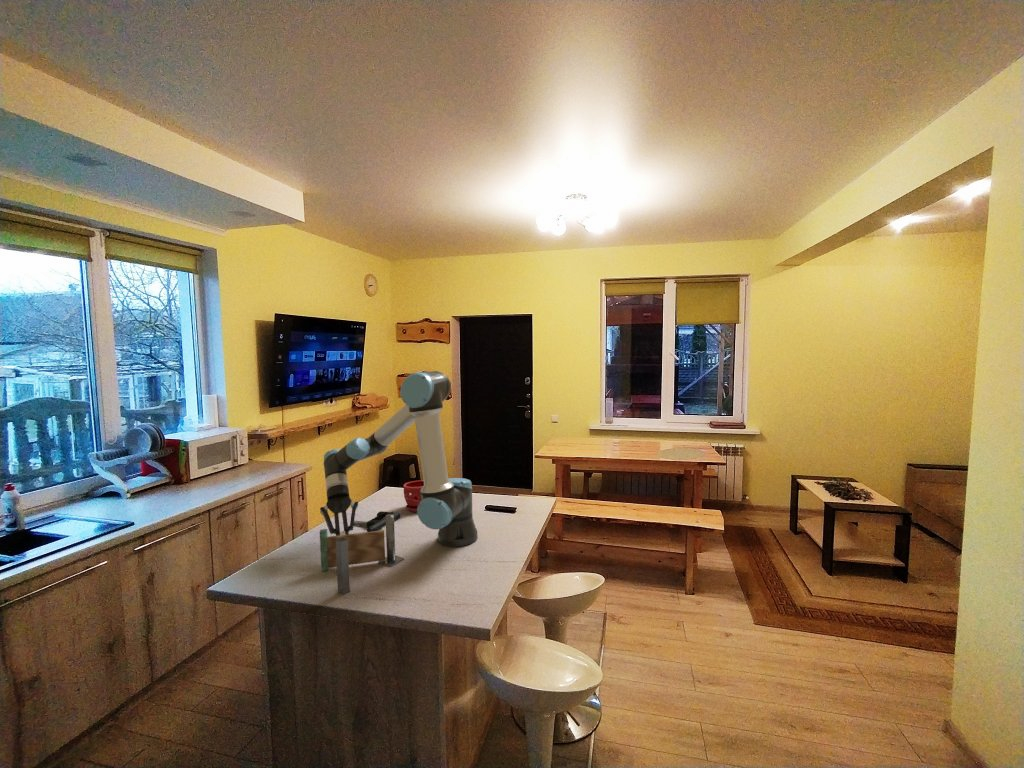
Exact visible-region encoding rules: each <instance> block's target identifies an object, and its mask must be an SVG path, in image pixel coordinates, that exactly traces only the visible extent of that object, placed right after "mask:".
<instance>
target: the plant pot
mask: <svg viewBox="0 0 1024 768" xmlns="http://www.w3.org/2000/svg"><path fill="white" fill-rule="evenodd" d="M423 486H424V479H421V480H414V481H412V480H411V481H408V482H405V483H404V484H403V496H404V500H405V503H406V506H405V508H406V510H408V511H409V512H412V513H417V508H418V505H419V503H420V502H421V500H422V498H421V489H422V487H423Z"/></svg>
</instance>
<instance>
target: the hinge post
mask: <svg viewBox="0 0 1024 768" xmlns="http://www.w3.org/2000/svg"><path fill="white" fill-rule="evenodd" d="M385 518H386V527H385V538H386V539H385V542H386V543H385V544H386V556H385V560H382V561H377V562H378V564H380V565H384V566H387V567H390V568H391V567H394V566H396V565H397V564H399V563H401V562H402V561H404V560H405V558H404V557H402V556H399V555H396V537H395V535H396V533H395V521H394V514H388V515H386V516H385Z"/></svg>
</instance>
